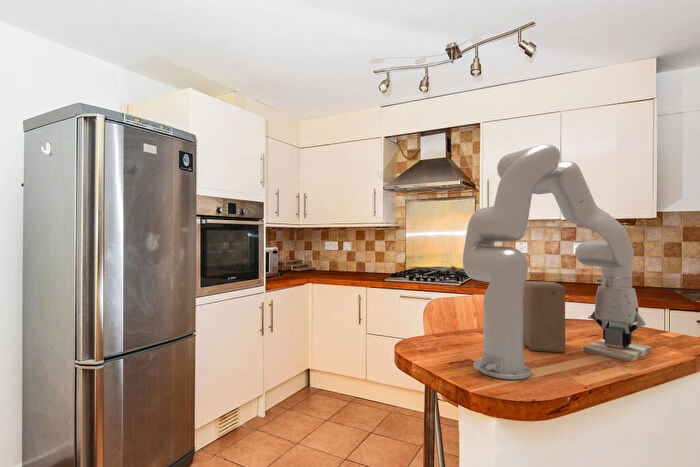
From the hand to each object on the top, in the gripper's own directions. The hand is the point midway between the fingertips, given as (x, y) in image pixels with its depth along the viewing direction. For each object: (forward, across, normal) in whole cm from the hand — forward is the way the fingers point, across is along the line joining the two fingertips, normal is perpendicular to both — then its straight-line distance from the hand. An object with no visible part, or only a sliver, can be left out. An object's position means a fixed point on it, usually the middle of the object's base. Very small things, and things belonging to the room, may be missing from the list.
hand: (616, 343), depth 114 cm
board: (+2, 0, 0) cm, 2 cm away
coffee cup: (+3, -6, +20) cm, 21 cm away
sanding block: (0, 0, 0) cm, 0 cm away
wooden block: (+3, -15, -14) cm, 20 cm away
